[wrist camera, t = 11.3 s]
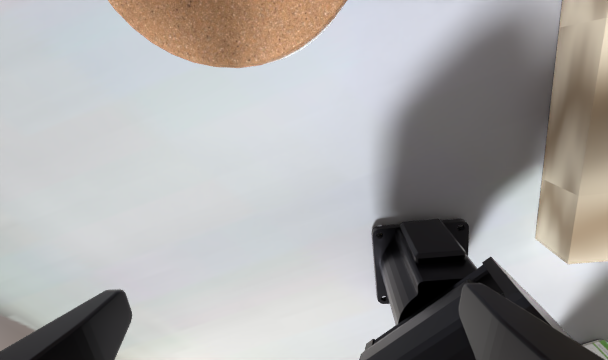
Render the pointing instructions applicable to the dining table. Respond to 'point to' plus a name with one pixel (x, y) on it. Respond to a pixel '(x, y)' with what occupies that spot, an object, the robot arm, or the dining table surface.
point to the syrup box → (598, 348)
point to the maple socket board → (577, 139)
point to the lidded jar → (230, 27)
